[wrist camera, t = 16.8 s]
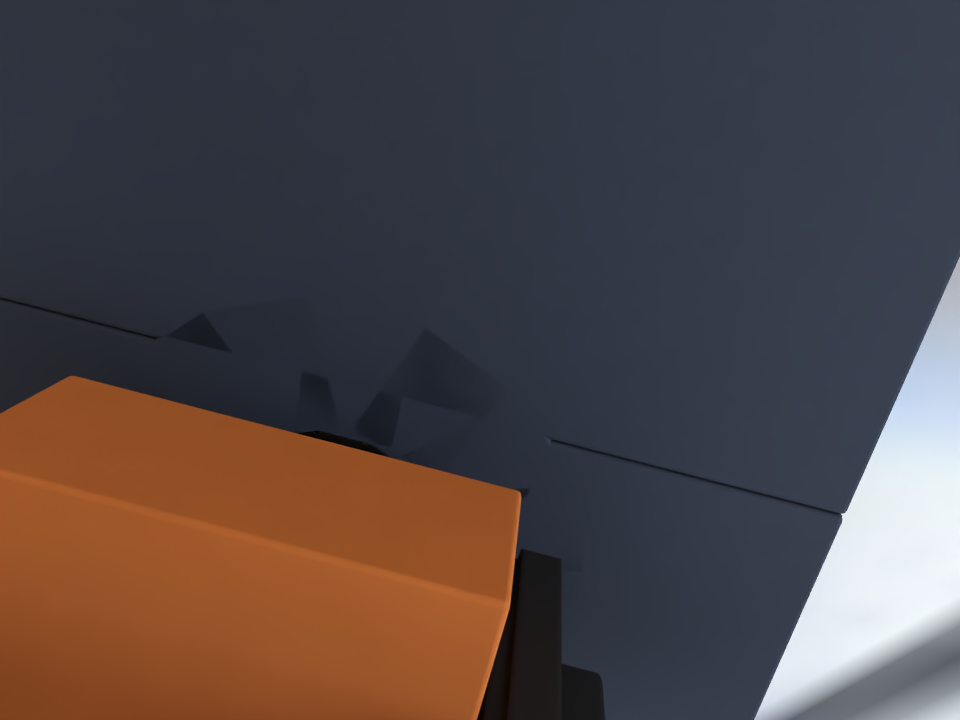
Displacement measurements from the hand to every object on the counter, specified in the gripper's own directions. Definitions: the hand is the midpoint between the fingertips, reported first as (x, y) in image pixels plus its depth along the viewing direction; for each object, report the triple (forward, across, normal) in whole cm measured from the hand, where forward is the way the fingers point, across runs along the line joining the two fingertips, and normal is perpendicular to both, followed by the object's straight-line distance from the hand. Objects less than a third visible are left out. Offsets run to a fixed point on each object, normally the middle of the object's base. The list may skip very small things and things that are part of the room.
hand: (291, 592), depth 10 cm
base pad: (+4, 0, -3) cm, 5 cm away
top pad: (+1, 0, 0) cm, 1 cm away
